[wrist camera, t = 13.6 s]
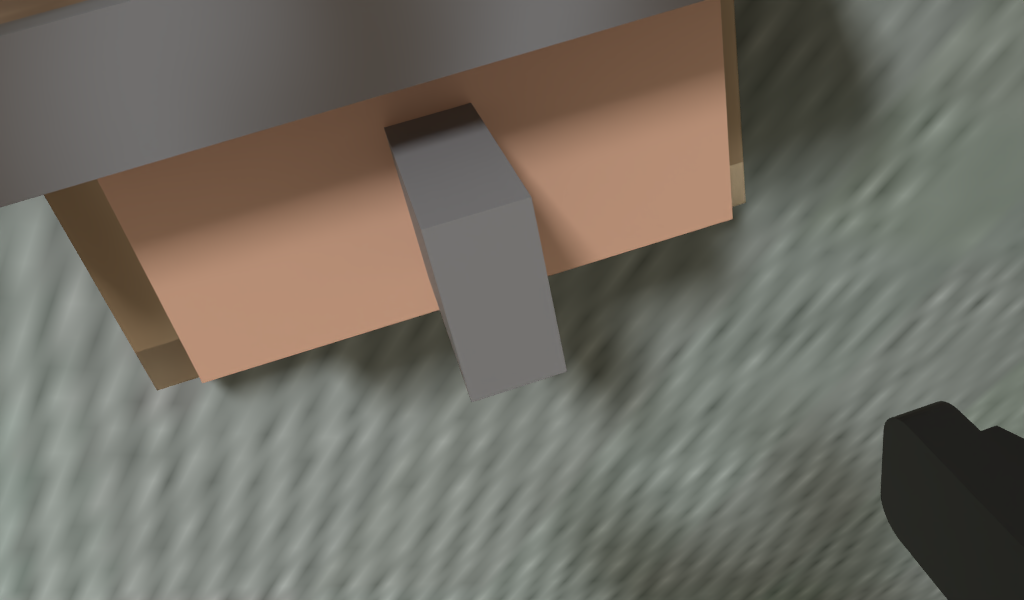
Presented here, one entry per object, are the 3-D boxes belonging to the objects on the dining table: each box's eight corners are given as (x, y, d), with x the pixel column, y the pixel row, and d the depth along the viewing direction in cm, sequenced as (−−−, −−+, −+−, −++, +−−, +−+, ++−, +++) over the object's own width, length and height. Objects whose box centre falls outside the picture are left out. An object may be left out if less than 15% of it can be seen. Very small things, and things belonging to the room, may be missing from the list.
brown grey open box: (747, -249, 24) (1043, -252, 15) (764, 148, 31) (974, 309, 22) (-131, -16, 22) (-395, 145, 13) (97, 357, 29) (29, 632, 20)
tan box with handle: (600, -73, 26) (846, 49, 15) (624, 114, 29) (839, 321, 19) (131, 53, 24) (41, 285, 14) (213, 234, 28) (192, 533, 17)
